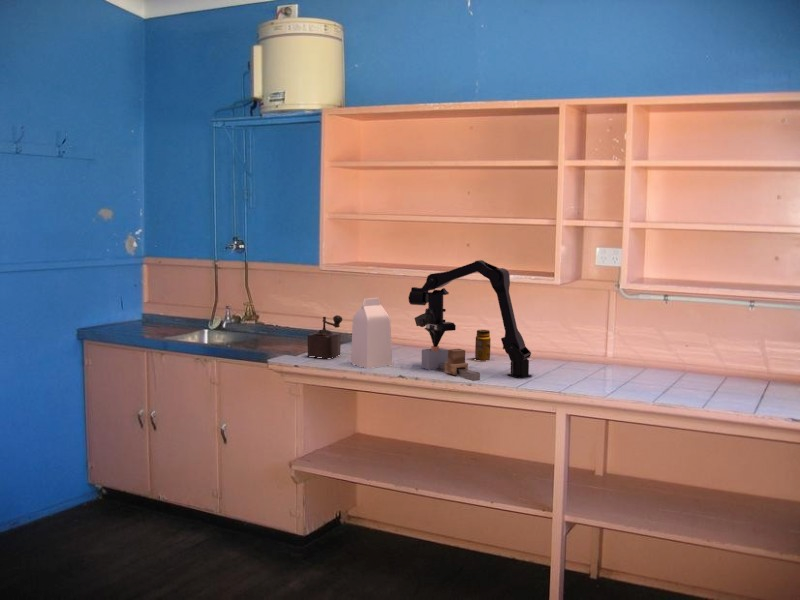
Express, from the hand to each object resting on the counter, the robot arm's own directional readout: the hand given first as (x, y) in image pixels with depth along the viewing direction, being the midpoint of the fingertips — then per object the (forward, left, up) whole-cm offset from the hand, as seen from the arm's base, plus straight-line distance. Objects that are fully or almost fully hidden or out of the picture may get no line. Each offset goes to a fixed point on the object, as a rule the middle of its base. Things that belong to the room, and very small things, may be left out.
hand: (435, 346), depth 306 cm
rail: (-15, 0, -8) cm, 17 cm away
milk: (+18, +18, -8) cm, 27 cm away
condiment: (+6, -26, -8) cm, 28 cm away
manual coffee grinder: (+41, +25, -8) cm, 48 cm away
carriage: (-14, 0, -8) cm, 16 cm away
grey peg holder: (0, 0, -8) cm, 8 cm away
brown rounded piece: (0, 0, -3) cm, 3 cm away
